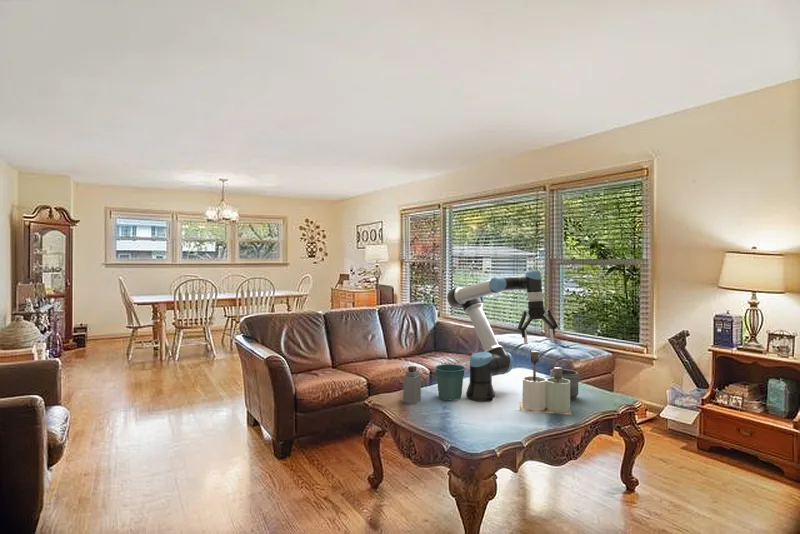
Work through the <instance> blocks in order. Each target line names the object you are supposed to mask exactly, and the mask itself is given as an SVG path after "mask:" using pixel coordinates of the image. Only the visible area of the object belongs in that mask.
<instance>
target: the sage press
mask: <svg viewBox="0 0 800 534" xmlns="http://www.w3.org/2000/svg"><path fill="white" fill-rule="evenodd" d="M553 369H554V378H553V377H552V378H550V377H547V378H545V379H546V409H547V410H549V411H552V412H557V413H566V412H569V411H570V410H571V401H570V380H567V379H563V378H562V369H563V368H562V367H558V366H556V367H555V366H554V368H553Z"/></svg>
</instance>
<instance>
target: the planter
mask: <svg viewBox="0 0 800 534" xmlns="http://www.w3.org/2000/svg"><path fill="white" fill-rule="evenodd" d="M552 377H553V378H554V368H553V369H550V373H549V378H552ZM562 378H563V379H567V380H570V402H571V401H574V400H576V398H577V397H578V395H579V381H580V380H579V372H578V371H576V370H573V369H567V368H562Z"/></svg>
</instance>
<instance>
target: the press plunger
mask: <svg viewBox="0 0 800 534" xmlns="http://www.w3.org/2000/svg"><path fill="white" fill-rule="evenodd" d="M539 352H540V351H537V350H531V351H530V362H531V363H533V368H532V370H533V371H532V376H533V379H527V380H528V381H534V382H541V380H537V379H536V376H537V371H536V370H537V363H539V359H540V353H539Z"/></svg>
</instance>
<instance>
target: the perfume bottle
mask: <svg viewBox="0 0 800 534" xmlns="http://www.w3.org/2000/svg"><path fill="white" fill-rule="evenodd" d="M419 373H420V371H419V370H418V369H417V366H415V365H410V366H408V368H407V370H405V374H404V375H403V380H402V381H403V383H402V384H403V386H402V387H403V393H402V394H403V396H402V398H403V400H402V402H403V403H405V404H413V405H416V404H417V403H419V402H421V401H422V399H421V398H422V375H421V374H419Z"/></svg>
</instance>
